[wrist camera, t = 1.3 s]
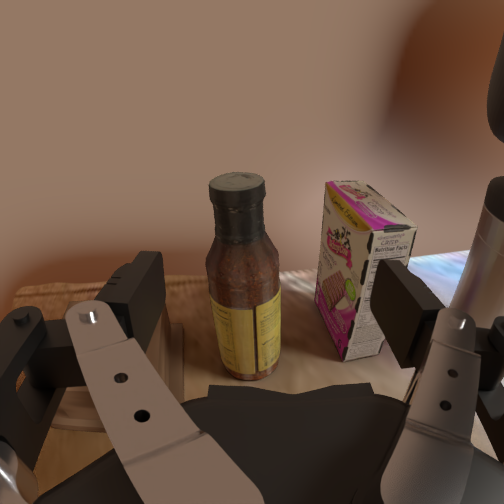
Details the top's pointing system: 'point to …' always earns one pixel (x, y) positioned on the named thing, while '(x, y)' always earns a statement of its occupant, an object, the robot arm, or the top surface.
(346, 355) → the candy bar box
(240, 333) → the sauce bottle
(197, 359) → the top surface
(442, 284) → the top surface
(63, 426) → the walnut caddy
